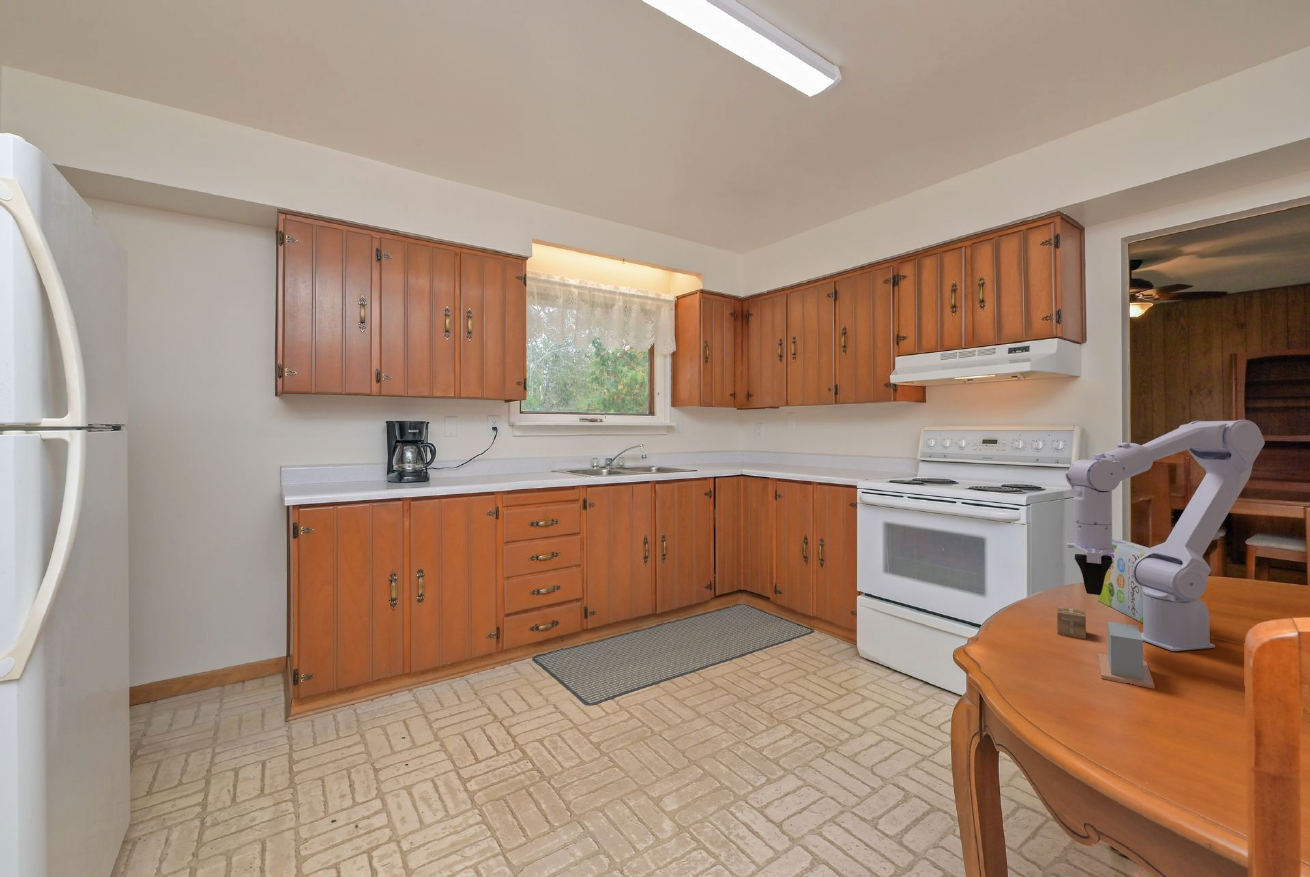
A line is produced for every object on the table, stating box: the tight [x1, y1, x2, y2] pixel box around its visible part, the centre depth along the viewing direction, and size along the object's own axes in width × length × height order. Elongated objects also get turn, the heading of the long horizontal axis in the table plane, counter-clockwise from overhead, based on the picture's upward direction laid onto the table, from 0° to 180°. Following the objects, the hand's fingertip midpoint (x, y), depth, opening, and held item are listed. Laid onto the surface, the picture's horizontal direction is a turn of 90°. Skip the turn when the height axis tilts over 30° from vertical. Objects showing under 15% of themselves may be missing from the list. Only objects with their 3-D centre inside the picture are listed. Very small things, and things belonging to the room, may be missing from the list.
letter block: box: [1056, 606, 1087, 639], centre depth 112 cm, size 5×4×5 cm
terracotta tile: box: [1097, 652, 1155, 690], centre depth 94 cm, size 11×6×1 cm, turn 144°
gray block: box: [1106, 620, 1144, 680], centre depth 94 cm, size 4×8×6 cm, turn 144°
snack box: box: [1097, 538, 1150, 624], centre depth 121 cm, size 21×6×15 cm, turn 168°
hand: (1093, 593), depth 106 cm, fingers closed
